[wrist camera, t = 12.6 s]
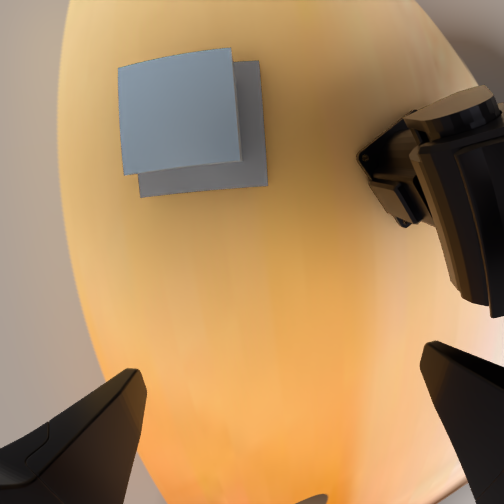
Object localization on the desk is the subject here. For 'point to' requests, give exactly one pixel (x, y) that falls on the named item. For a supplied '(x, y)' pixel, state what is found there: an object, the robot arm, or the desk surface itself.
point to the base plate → (223, 174)
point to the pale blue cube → (179, 112)
